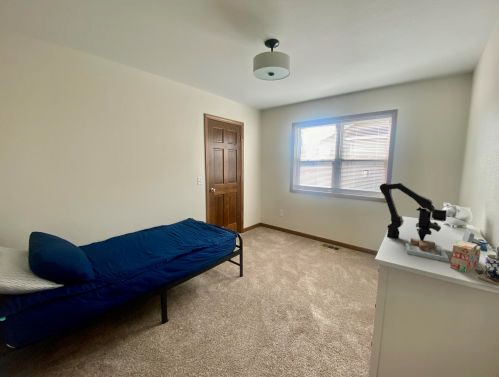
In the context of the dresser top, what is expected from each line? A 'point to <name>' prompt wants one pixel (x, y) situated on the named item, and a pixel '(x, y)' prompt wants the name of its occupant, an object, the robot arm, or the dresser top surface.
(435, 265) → the dresser top surface
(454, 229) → the dresser top surface
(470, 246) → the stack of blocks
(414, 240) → the t block
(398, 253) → the dresser top surface
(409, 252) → the dock
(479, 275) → the dresser top surface
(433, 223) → the robot arm
